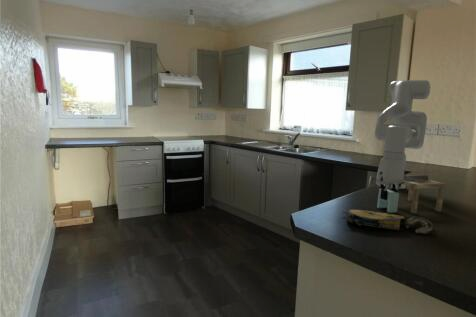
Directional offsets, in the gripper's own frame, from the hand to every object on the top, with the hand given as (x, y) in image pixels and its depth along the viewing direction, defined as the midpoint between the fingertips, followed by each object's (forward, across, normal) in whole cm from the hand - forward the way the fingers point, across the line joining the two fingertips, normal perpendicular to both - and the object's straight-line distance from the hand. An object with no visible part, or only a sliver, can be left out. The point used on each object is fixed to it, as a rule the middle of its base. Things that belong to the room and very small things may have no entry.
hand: (388, 198), depth 125 cm
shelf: (+5, -16, -2) cm, 16 cm away
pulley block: (+5, +16, +16) cm, 23 cm away
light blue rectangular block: (+5, 0, 0) cm, 5 cm away
